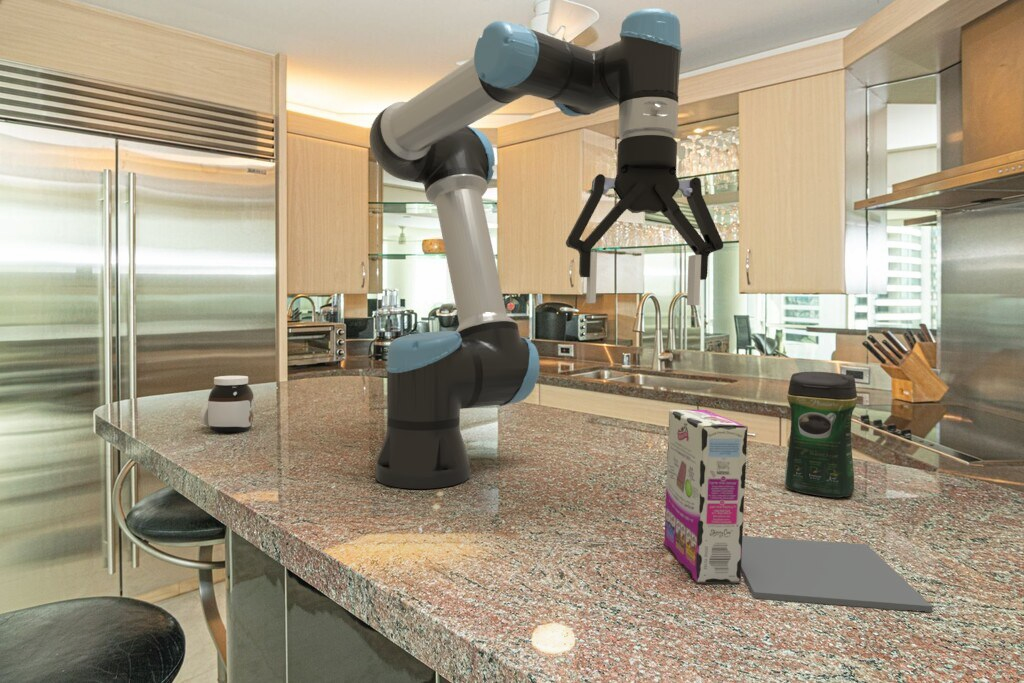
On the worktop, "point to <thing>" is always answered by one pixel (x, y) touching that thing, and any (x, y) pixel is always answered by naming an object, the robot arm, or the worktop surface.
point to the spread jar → (229, 406)
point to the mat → (825, 574)
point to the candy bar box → (706, 494)
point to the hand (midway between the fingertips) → (642, 304)
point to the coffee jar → (821, 434)
